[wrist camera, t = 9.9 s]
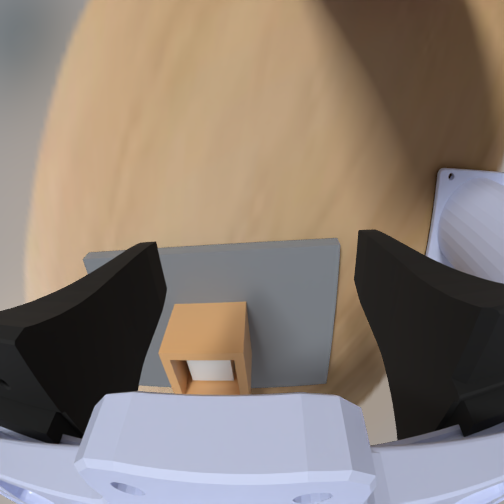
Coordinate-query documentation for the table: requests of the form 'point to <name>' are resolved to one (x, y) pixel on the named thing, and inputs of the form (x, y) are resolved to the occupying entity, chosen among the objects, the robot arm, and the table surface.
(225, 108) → the table surface
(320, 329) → the duct board
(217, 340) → the tan square tube
